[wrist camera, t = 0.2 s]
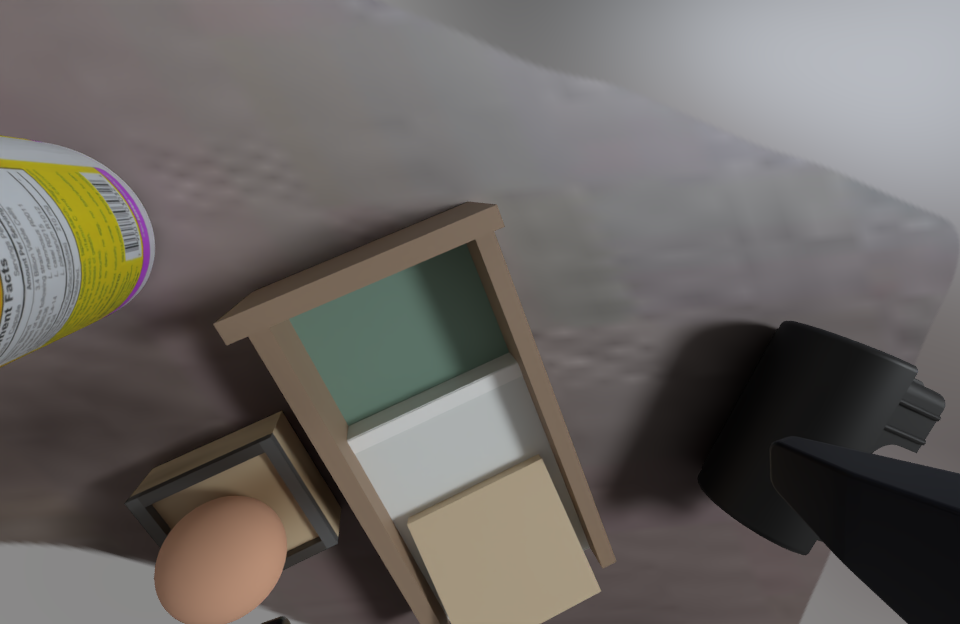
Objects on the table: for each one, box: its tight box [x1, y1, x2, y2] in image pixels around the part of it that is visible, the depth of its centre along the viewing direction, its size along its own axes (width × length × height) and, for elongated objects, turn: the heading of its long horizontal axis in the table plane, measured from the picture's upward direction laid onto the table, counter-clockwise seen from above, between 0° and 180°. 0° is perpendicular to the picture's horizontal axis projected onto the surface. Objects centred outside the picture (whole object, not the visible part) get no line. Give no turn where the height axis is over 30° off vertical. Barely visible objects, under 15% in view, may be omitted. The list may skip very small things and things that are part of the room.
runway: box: [213, 202, 616, 624], centre depth 20 cm, size 19×10×5 cm, turn 21°
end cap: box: [698, 321, 945, 555], centre depth 24 cm, size 10×7×7 cm
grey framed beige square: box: [125, 411, 341, 571], centre depth 20 cm, size 6×6×2 cm
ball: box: [154, 496, 287, 624], centre depth 17 cm, size 4×4×4 cm
